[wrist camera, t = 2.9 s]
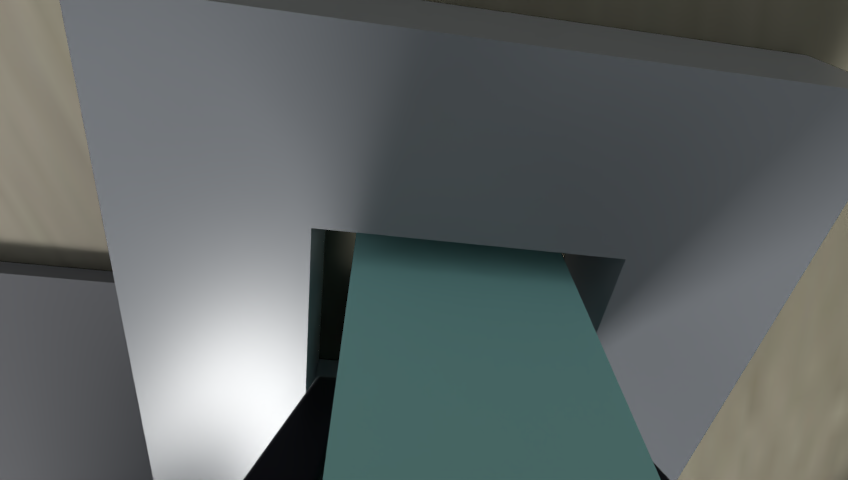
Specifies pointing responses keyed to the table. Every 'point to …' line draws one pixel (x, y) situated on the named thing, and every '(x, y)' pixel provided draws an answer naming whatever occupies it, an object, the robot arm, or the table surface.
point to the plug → (474, 371)
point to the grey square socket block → (439, 191)
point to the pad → (66, 378)
